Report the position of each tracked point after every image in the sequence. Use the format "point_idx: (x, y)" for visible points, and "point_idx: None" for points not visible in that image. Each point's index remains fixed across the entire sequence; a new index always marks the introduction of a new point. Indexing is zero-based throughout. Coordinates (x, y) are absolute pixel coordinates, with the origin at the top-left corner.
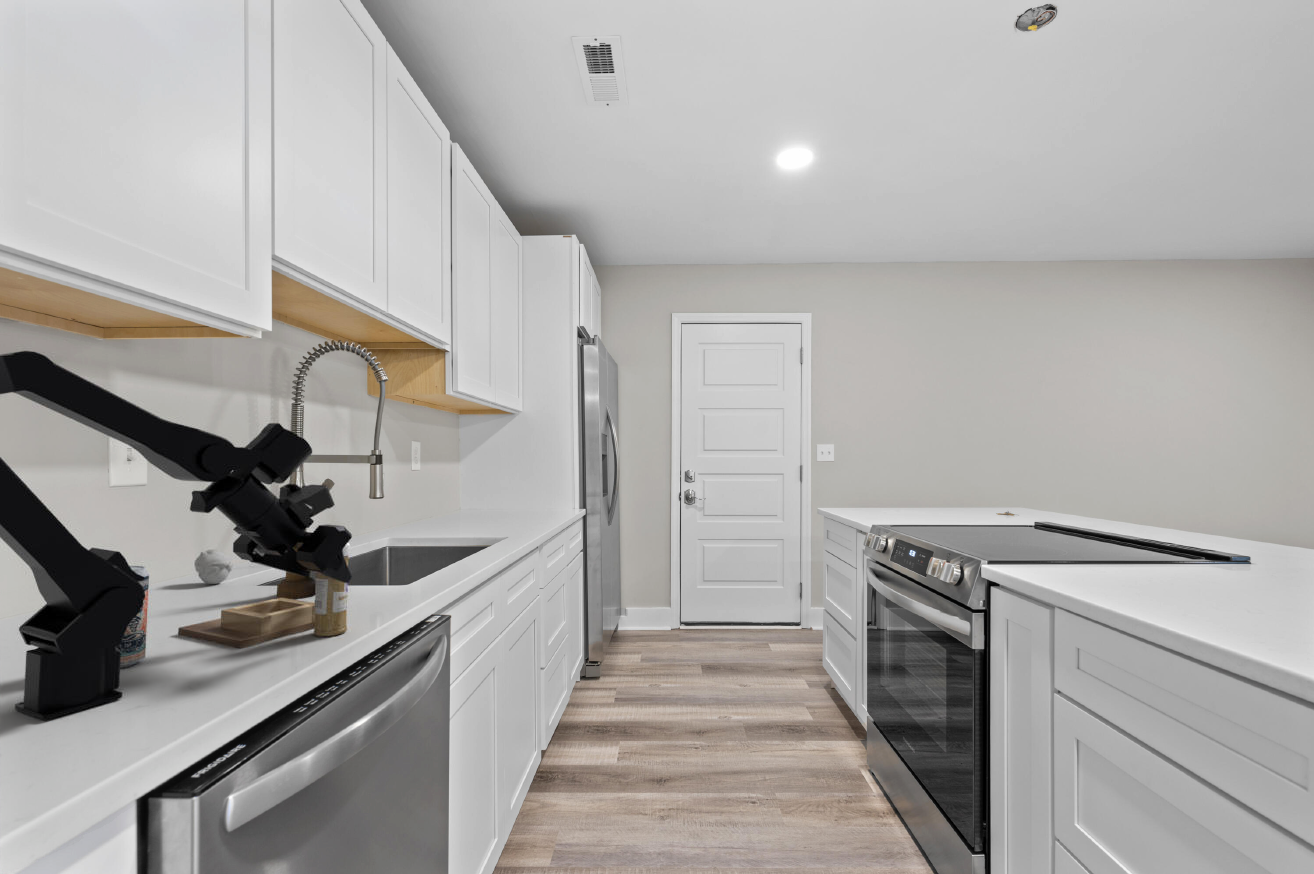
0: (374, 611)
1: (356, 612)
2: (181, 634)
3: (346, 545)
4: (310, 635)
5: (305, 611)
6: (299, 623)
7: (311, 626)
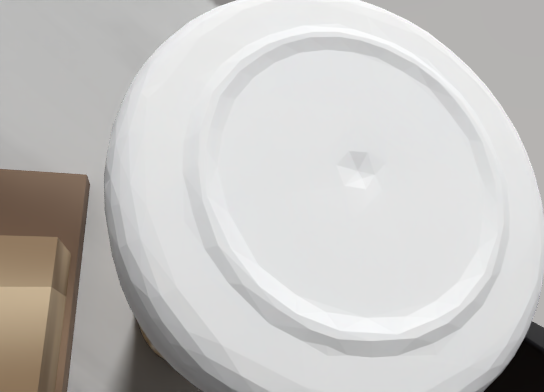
0: (99, 21)
1: (39, 50)
2: None
3: (518, 146)
4: (155, 368)
5: (50, 330)
6: (57, 363)
7: (75, 303)
